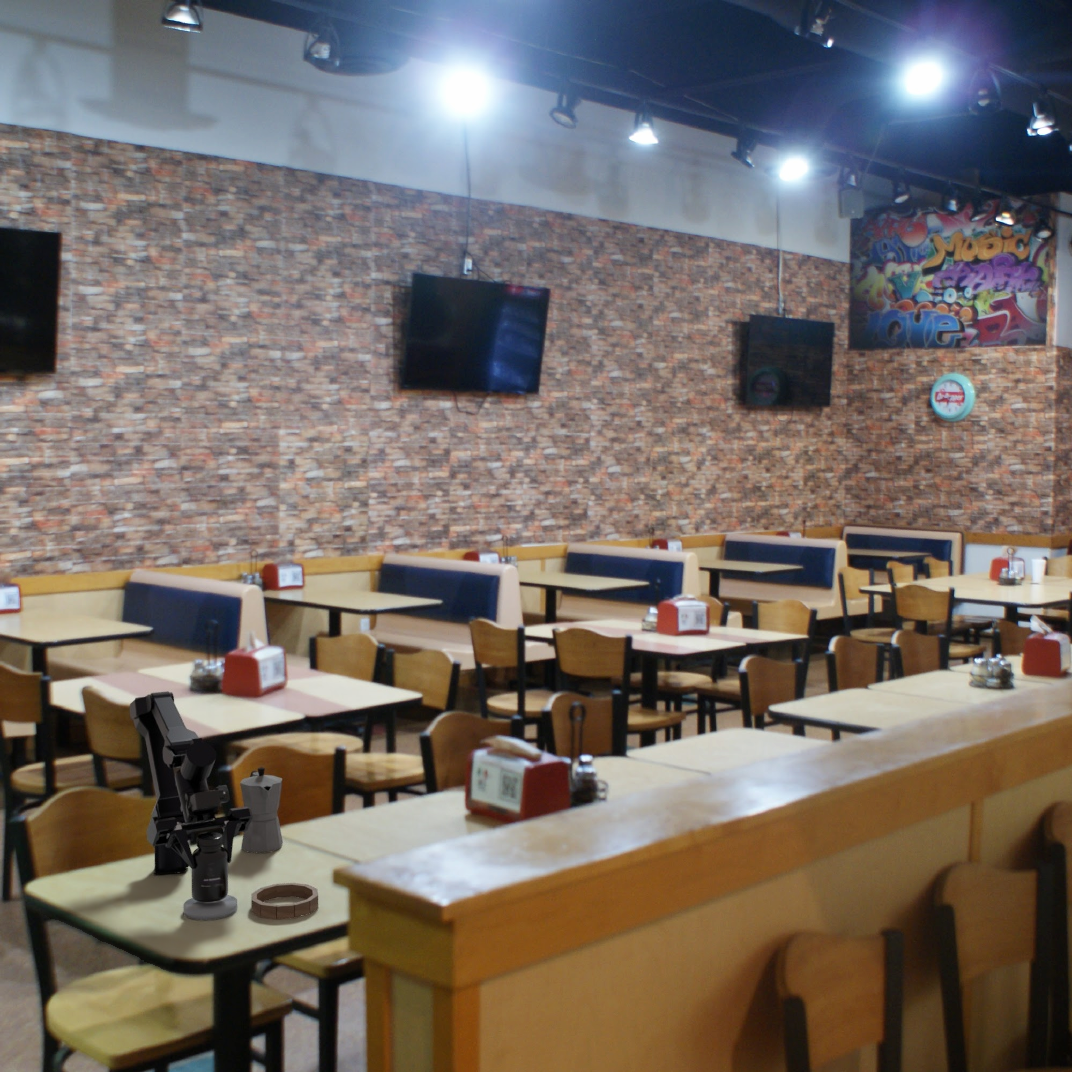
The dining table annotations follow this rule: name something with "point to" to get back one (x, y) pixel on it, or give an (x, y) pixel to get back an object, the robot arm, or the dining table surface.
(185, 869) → the robot arm
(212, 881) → the supplement bottle
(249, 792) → the coffeepot
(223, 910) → the coaster
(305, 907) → the ring holder
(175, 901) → the dining table surface
